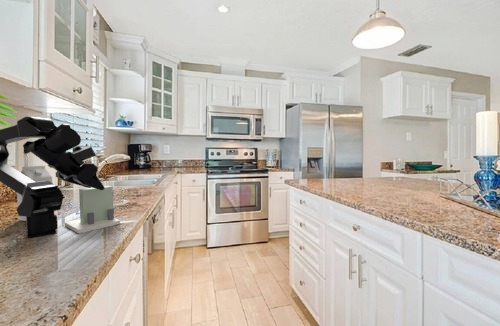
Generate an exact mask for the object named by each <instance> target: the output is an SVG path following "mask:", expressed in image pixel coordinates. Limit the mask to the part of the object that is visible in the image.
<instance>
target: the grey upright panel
mask: <svg viewBox="0 0 500 326" xmlns="http://www.w3.org/2000/svg"><path fill="white" fill-rule="evenodd" d="M103 186H104V187H105V189H104V190H99V189H96V188H92V187H91V188H87V187H84V188H79V190H78V194H79V195H78V196H79V197H78V199H79V215H80V216H79V219H80V223H82V224H88V217H87V213H92V212H93V213H94V222H97V221H102V220H107V219H108V209H114V210H115V207H114V189H113V186H111V185H106V186H105V185H103Z"/></svg>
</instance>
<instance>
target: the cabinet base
mask: <svg viewBox="0 0 500 326" xmlns="http://www.w3.org/2000/svg"><path fill="white" fill-rule="evenodd" d="M114 214H115V208H114V209H108V219H107V220H102V221H97V222H94V213H93V212H92V213H87V217H88V224H82V223H80V218H79V219H76V220H75V219H74V220H70V221H65V222H64V226H65V227H66V228H67V229H70V230H72V231H74V232H75V233H77V234H78V233H79V234H82V233H81V232H83V233H87V231H88V232H91V230H92V231H96V230H99V229H103V228H109V227H112V226H116V225H121V220H120V219H117V218H115V215H114Z"/></svg>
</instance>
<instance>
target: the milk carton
mask: <svg viewBox="0 0 500 326" xmlns="http://www.w3.org/2000/svg"><path fill="white" fill-rule="evenodd" d="M21 169H22V170H21V173H22V174H24V175H25V176H27V177H29V178H30V179H32V180H33V181H35V182H41V181H50V182H51V183H53V176H52V174H51V173H50V172H49V171H48V170H47V169H46V165H32V166H22V167H21ZM16 198H17V201H16V202H17V207H18V206H19V205H20V204H21V202H22V195H20V194H19V193H17V192H16ZM17 217H18V221H24V222H27V219H26V216H19V215H18V214H17Z"/></svg>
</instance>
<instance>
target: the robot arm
mask: <svg viewBox="0 0 500 326" xmlns="http://www.w3.org/2000/svg"><path fill="white" fill-rule="evenodd" d="M70 125H71V124H68V123H67V124H65V123H61V124H60V125H57V124H55V123H54V121H53V120H52V118H46V117H45V118H44V117H37V116H36V117H35V116H25V117H22V118H20V119H19V120H17V121H16V124H15V125H12V126H8V127H4V128H1V129H0V182H1V183H2V184H3V185H6V187H8V188H10V189H11V190H13V191H14V192H16V194H17V193H19V194H20V195H22V202H21V204H20V205H19V206H18V205H17V208H16V213H17V216H18V215H19V216H26V219H27V221H26V238H27V239H29V238H34V237H40V236H41V237H42V236H46V235H51V234H56V233H57V230H58V228H59V227H58V216H57V214H55V211H60V210H61V208H62V204H63V200H64V194H63V192H62V190H61V189H60V188H59V185H55V184H54V183H53V182H52V183H51V182H50V181H41V182H35V181H33V180H32V179H30V178H29V177H27V176H25V175H24V174H22V173H21V172H20V171H19V170H17V169H15V168H14V167H13V166H11V165H9V164H8V158H9V156H10V153H9V150H8V147H7V146H8V144H12V143H15V142H19V141H23V140H27V139H36V140H34V141H29V140H28V141H26V142H25V143H24V144H23V145H22V148H23V154H24V155H27V154H30V153H31V154H33V155H34V156H36V157H38V158H39V159H40V160H41V161H42V162H44V163H46V164H47V167H49V168H51V169H53V170H55V171H56V172H55V178H57V179H59V180H60V181H63V182H65V183H69V184H73V185H77V186H80V187H84V188H96V189H99V190H104V189H105V187H104V186H105V185H103V183H102V181H101V180H100V179H99V177H98V176H97V173H98V169H99V167H98V166H97V165H96V164H94V163H92V162H91V163H89V162H87V163H85V162H84V161H85V160H88V159H90V158H95V157H96V156H97V154H96V153H95V151H94V149H93V148H92V146H85V147H84V146H83V147H81V146H79V145H80V144H81V141H82V139H81V135H80V134H79V133H78V132H77V131H76V130H75V129H74V128H71V126H70ZM69 150H72V152H71V151H69Z"/></svg>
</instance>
